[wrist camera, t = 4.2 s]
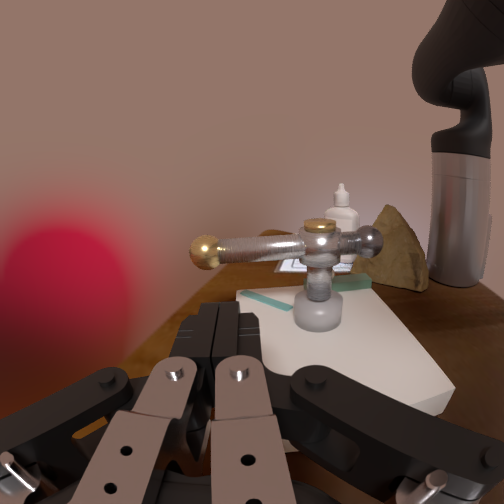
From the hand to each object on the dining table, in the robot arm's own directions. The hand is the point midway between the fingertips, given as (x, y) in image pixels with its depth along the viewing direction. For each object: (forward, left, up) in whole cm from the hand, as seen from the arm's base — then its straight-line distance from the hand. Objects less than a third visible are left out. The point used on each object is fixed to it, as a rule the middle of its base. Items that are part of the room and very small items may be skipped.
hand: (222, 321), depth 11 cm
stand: (-7, -8, -9) cm, 14 cm away
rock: (-20, -21, -9) cm, 30 cm away
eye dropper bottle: (-16, -31, -9) cm, 36 cm away
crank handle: (-4, -10, -4) cm, 12 cm away
